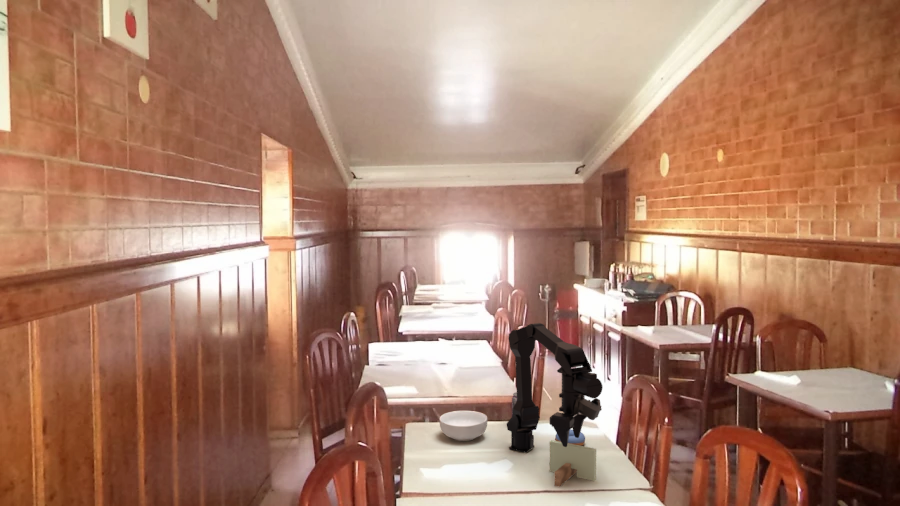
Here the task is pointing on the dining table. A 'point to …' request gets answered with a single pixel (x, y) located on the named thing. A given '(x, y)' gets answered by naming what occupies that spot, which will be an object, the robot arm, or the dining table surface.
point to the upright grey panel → (574, 459)
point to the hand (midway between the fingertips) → (571, 442)
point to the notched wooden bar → (564, 474)
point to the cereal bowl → (463, 424)
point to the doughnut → (573, 438)
